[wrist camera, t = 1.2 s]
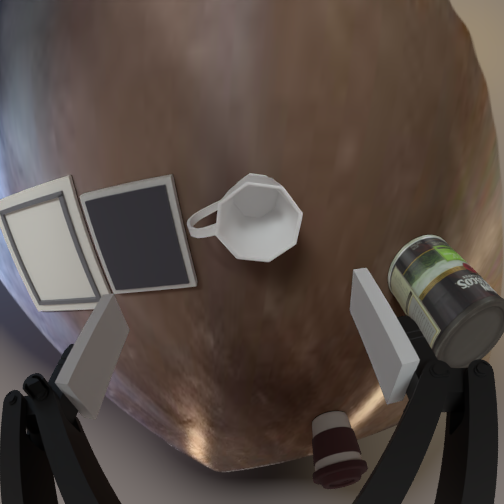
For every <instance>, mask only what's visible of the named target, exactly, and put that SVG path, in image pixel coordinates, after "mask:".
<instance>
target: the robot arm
mask: <svg viewBox="0 0 504 504" xmlns="http://www.w3.org/2000/svg"><path fill="white" fill-rule="evenodd" d="M350 312H351V314H352V317H353V319H354V322H355V324H356V326H357V329H358V331H359V333H360V336H361V338H362V341H363V343H364V346H365V348H366V351H367V353H368V356H369V358H370V361H371V363H372V366H373V368H374V371H375V374H376V376H377V379H378V381H379V384H380V387H381V389H382V392H383V395H384V398H385V400H386V403H387V404H391V403H395V402H398V401H402V400H403V398H404V396H405V394H407V396H408V398H409V401H408V403H407V405H406V407H405V409H404V411H403V414H402V417H401V419H400V421H399V423H398V425H397V427H396V429H395V432H394V433H393V435H392V437H391V439H390V441H389V443H388V445H387V447H386V449H385V451H384V453H383V454H382V456H381V458H380V460H379V461H378V463H377V465H376V467H375V468H374V470H373V472H372V474H371V475H370V477H369V478H368V480H367V482H366V483H365V485H364V486H363V488H362V490H361V491H360V493H359V495H358V496H357V497H356V499H355V500H354V502H353V503H352V504H401V503H402V501H403V499H404V497H405V495H406V494H407V492H408V490H409V488H410V486H411V484H412V482H413V480H414V478H415V476H416V473H417V472H418V469H419V467H420V465H421V463H422V461H423V458H424V456H425V454H426V451H427V449H428V446H429V444H430V442H431V439H432V436H433V434H434V431H435V428H436V426H437V423H438V420H439V417H440V414H441V412H447V417H446V430H445V441H444V450H443V458H442V465H441V472H440V478H439V483H438V489H437V494H436V499H435V503H434V504H494V498H495V489H496V478H497V462H498V418H497V401H496V390H495V380H494V372H493V369H492V366H491V365H490V364H489V363H488V362H486V361H485V360H481V359H477V360H474V361H472V362H471V363H470V364H469V366H468V368H451V367H450V366H449V365H448V364H447V363H446V362H444V361H442V360H438V359H437V357H436V356H435V354H434V352H433V350H432V349H431V347H430V345H429V344H428V342H427V340H426V338H425V337H424V335H423V333H422V332H421V331H420V329H419V327H418V325H417V324H416V322H415V321H414V320H413V319H411V318H410V317H409V316H407V315H406V316H401V317H396V316H395V314H394V312H393V310H392V309H391V307H390V305H389V304H388V302H387V300H386V299H385V297H384V295H383V294H382V292H381V290H380V289H379V287H378V285H377V284H376V282H375V280H374V279H373V277H372V276H371V274H370V272H369V271H368V269H367V268H361V269H354V270H353V279H352V291H351V302H350ZM128 333H129V327H128V325H127V323H126V321H125V319H124V316H123V314H122V312H121V309H120V307H119V305H118V302H117V300H116V298H115V295H114V294H103V295H102V297H101V298H100V300H99V302H98V303H97V305H96V307H95V308H94V310H93V312H92V314H91V315H90V317H89V319H88V321H87V322H86V324H85V326H84V328H83V329H82V331H81V333H80V335H79V337H78V338H77V340H76V342H75V344H71V345H70V346H69V347H68V348H67V349H66V350H65V351H64V353H63V355H62V356H61V359H60V360H59V362H58V365H57V366H56V368H55V370H54V372H53V374H52V376H51V378H50V380H49V382H47V381H46V380H45V378H44V377H43V376H42V375H41V374H39V373H35V374H32V375H30V376H29V377H27V379H26V380H25V381H24V384H23V390H24V391H25V392H26V393H27V394H28V396H23V395H22V394H21V393H20V392H19V391H18V390H13V391H11V392H9V393H8V394H7V395H6V397H5V399H4V402H3V412H2V422H1V438H0V484H1V499H2V504H58V500H57V494H56V489H55V482H54V477H55V480H56V482H57V485H58V487H59V490H60V492H61V495H62V497H63V500H64V502H65V504H121V502H120V501H119V499H118V497H117V496H116V494H115V492H114V491H113V489H112V487H111V486H110V484H109V482H108V480H107V478H106V476H105V474H104V472H103V471H102V469H101V467H100V465H99V463H98V461H97V459H96V457H95V455H94V453H93V451H92V449H91V446H90V444H89V442H88V440H87V437H86V435H85V433H84V431H83V428H82V426H81V424H80V421H79V419H78V418H77V417H76V415H77V413H78V411H79V413H80V414H81V415H82V416H83V417H84V418H89V419H97V416H98V413H99V410H100V407H101V404H102V401H103V398H104V396H105V393H106V390H107V387H108V385H109V382H110V379H111V376H112V374H113V371H114V368H115V366H116V363H117V361H118V358H119V355H120V353H121V350H122V348H123V345H124V343H125V340H126V338H127V335H128ZM26 429H27V434H26Z"/></svg>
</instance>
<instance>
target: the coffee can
mask: <svg viewBox="0 0 504 504" xmlns="http://www.w3.org/2000/svg"><path fill="white" fill-rule="evenodd" d="M388 285H389V289H390V291H391V292H392V294H393V295H394V296H395V298H396V299H397V301H398V302H399V304H400V306H401V307H402V309H403V311H404V312H405V314H406V315H407V316H409V317H410V318H411V319H413V320H414V321H415V322H416V324H417V325H418V327H419V329H420V331H421V332H422V333H423V335H424V337H425V338H426V340H427V342H428V344H429V345H430V347H431V349H432V350H433V352H434V354H435V356H436V357H437V359H438V360H442V361H444V362H446V363H447V364H448V365H449V366H450V367H451V368H468V366H469V364H470V363H471V362H472V361H474V360H477V359H482V358H483V357H484V356H485V355H486V354H487V353H488V352H489V351H490V350H491V349H492V348H493V347H494V346H495V345H496V343H497V342H498V340H499V339H500V338H501V336H502V334H503V332H504V299H503V298H501V297H500V296H499V295H498V294H497V293H496V292H495V291H494V290H493V289H492V288H491V287H490V285H489V284H488V283H487V282H486V281H485V280H484V279H483V278H482V277H481V276H480V275H479V274H478V273H477V272H476V271H475V270H474V269H473V268H472V267H471V266H470V265H469V264H468V263H467V262H466V261H465V260H464V259H463V258H462V257H460V256H459V255H458V254H457V253H456V252H455V251H454V250H453V249H452V248H451V247H450V246H449V245H448V244H447V243H446V242H445V241H444V240H443V239H442V238H440V237H438V236H435V235H424V236H420V237H418V238H415V239H413V240H412V241H410V242H409V243H408V244H406V245H405V246H404V247H403V248H402V249H401V250H400V251H399V252H398V254H397V255H396V256H395V258H394V260H393V261H392V263H391V266H390V269H389V273H388Z"/></svg>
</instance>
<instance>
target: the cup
mask: <svg viewBox="0 0 504 504" xmlns="http://www.w3.org/2000/svg"><path fill="white" fill-rule="evenodd" d="M217 210H218V211H217ZM215 211H217V221H216V223H215V224H212V225H209V226H206V227H203V228H194V227H193V226H194V225H195V224H196V223H197V222H198V221H199V220H201V219H202V218H204V217H206V216H207V215H209V214H211V213H213V212H215ZM302 215H303V213H302V211H301V210H300V209H299V207H298V206H297V205H296V203H295V202H294V201H293V199H292V198H291V197H290V195H289V194H288V193H287V191H286V190H285V189H284V187H283V186H282V185H281V184H279V183H278V182H276V181H275V180H274V179H273V178H268V177H267V175H260V174H252V173H249V174H248V175H247V176H245V177H244V178H243V179H241V180H240V181H239V182H237V183H236V185H235V186H233V187H232V188H231V189H229V191H228V192H227V193H226V194H225V196H224V197H223V198H222V199H221V200H220V201H217V202H215V203H213V204H211V205H209V206H207V207H205V208H203V209H201V210H199V211H198V212H196V213H195V214H193V215H192V216H191V217H190V218H189V219H188V221H187V226H188V229H189V232H190V235H191V236H193V237H195V238H205V237H209V236H214V235H215V236H216V237H217V238H218V239H219V240H220V241H221V242H222V243H223V244H224V245H225V247H226V248H227V249H228V250H229V251H230V252H231V253H232V254H233V255H234V256H235V258H236V259H243V260H253V261H262V262H270V261H272V260H273V259H275V258H276V257H278V256H279V255H281V254H282V253H284V252H285V251H287V250H288V249H290V248H291V247H293V246H294V245H296V243H297V238H298V234H299V229H300V225H301V220H302Z"/></svg>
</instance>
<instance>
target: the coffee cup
mask: <svg viewBox="0 0 504 504" xmlns="http://www.w3.org/2000/svg"><path fill="white" fill-rule="evenodd" d="M312 432H313V439H312V446H313V459H314V466H315V470H316V471H315V472H314V473H313V481H314V483H316V484H321V485H322V486H323V487H324V488H326V489H335V488H341V487H345V486H348V485H351V484H354V483H356V482H357V481H359V480H360V479H361V475H362V474H363V473H364V472H366V471H367V469H368V468H367V463H366V461H364V460H362V458H361V451H360V448H359V445H358V443H357V439H356V436H355V433H354V431H353V429H352V428H351V425H350V422H349V419H348V416H347V415H346V413H344V412H341V411H332V412H327V413H324V414H321V415H319V416H318V417H316V418H315V419H314V420H313V422H312Z"/></svg>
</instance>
